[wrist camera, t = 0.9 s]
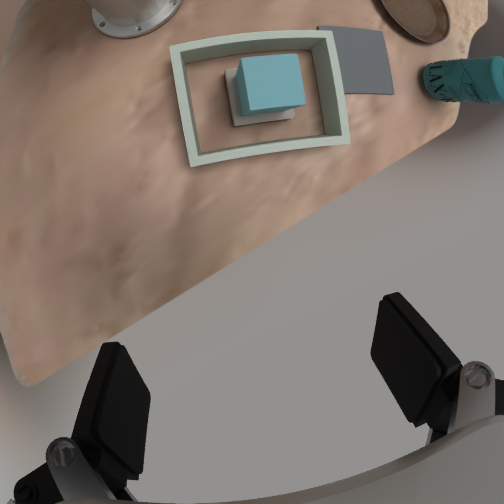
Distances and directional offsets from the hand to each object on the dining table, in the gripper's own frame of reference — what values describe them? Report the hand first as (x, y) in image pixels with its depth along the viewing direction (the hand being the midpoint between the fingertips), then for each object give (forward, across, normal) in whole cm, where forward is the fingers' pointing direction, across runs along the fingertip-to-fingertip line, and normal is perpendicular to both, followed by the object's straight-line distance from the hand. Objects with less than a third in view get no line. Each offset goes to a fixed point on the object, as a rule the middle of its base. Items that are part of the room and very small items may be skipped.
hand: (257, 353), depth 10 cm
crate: (+29, -6, -11) cm, 31 cm away
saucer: (+30, -32, -28) cm, 52 cm away
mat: (+29, -20, -16) cm, 39 cm away
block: (+26, -6, -11) cm, 29 cm away
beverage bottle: (+29, -33, -14) cm, 46 cm away
